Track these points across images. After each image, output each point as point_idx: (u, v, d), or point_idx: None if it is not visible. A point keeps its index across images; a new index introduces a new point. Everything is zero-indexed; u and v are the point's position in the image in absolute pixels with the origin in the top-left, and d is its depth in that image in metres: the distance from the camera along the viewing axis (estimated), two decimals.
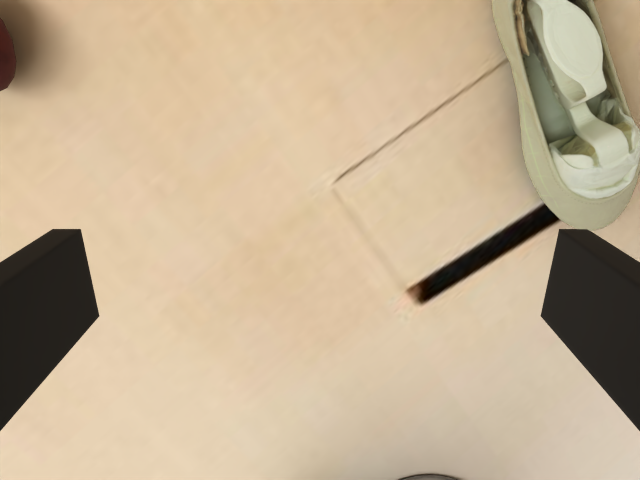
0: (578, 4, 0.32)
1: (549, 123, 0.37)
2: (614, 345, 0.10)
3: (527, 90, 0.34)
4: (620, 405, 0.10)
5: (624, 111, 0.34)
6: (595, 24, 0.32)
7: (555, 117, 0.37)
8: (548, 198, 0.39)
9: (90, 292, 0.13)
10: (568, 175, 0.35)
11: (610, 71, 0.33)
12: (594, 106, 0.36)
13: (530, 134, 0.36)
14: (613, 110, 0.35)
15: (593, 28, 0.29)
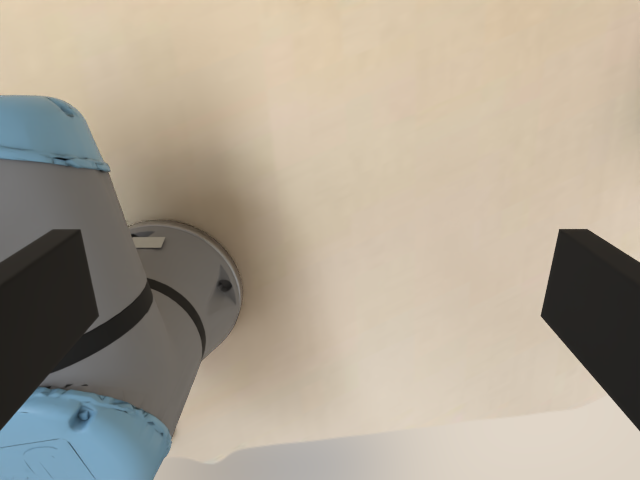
0: None
1: None
2: (614, 345, 0.10)
3: None
4: (620, 405, 0.10)
5: None
6: None
7: None
8: None
9: (90, 292, 0.13)
10: None
11: None
12: None
13: None
14: None
15: None
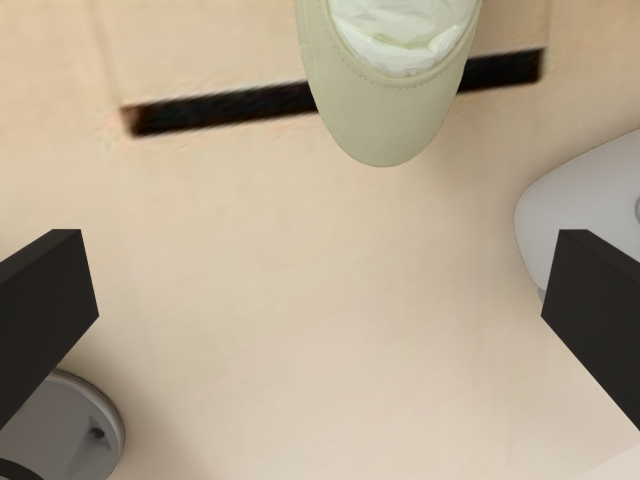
0: None
1: None
2: (614, 345, 0.10)
3: None
4: (620, 405, 0.10)
5: None
6: None
7: None
8: (308, 53, 0.21)
9: (90, 292, 0.13)
10: None
11: None
12: None
13: None
14: None
15: None
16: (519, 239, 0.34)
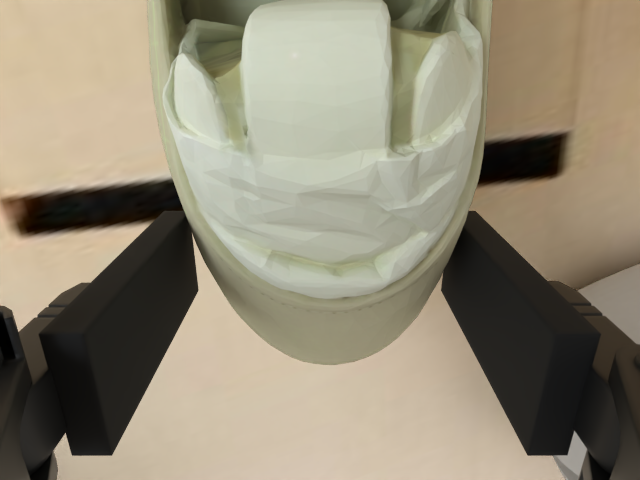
0: None
1: None
2: (476, 308, 0.11)
3: None
4: (479, 360, 0.11)
5: (474, 15, 0.09)
6: None
7: None
8: (192, 225, 0.13)
9: (193, 268, 0.14)
10: None
11: None
12: None
13: None
14: (448, 12, 0.09)
15: None
16: None
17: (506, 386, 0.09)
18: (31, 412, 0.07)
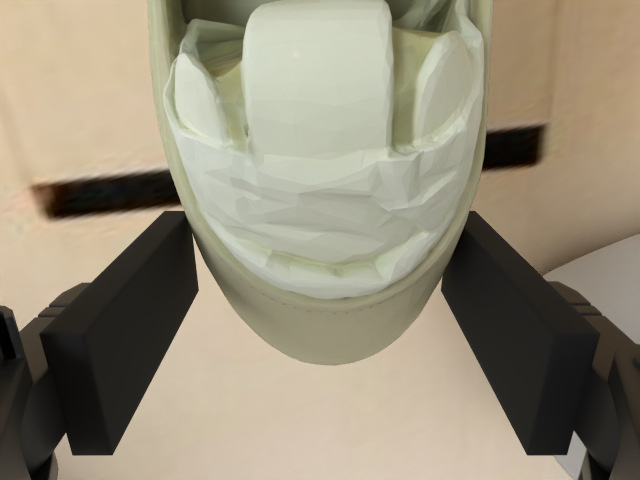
0: None
1: None
2: (475, 308, 0.11)
3: None
4: (478, 360, 0.11)
5: (475, 15, 0.09)
6: None
7: None
8: (192, 226, 0.12)
9: (194, 268, 0.14)
10: None
11: None
12: None
13: None
14: (449, 12, 0.09)
15: None
16: None
17: (506, 386, 0.09)
18: (31, 412, 0.07)
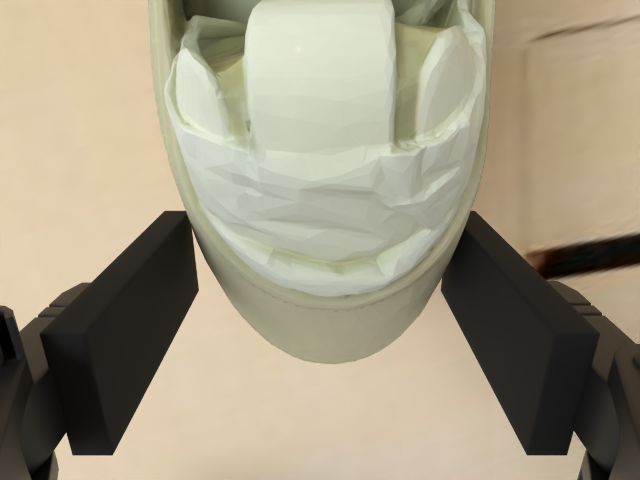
0: None
1: None
2: (475, 308, 0.11)
3: None
4: (478, 360, 0.11)
5: (477, 11, 0.09)
6: None
7: None
8: (193, 224, 0.12)
9: (194, 268, 0.14)
10: None
11: None
12: None
13: None
14: (451, 8, 0.09)
15: None
16: None
17: (506, 386, 0.09)
18: (32, 412, 0.07)
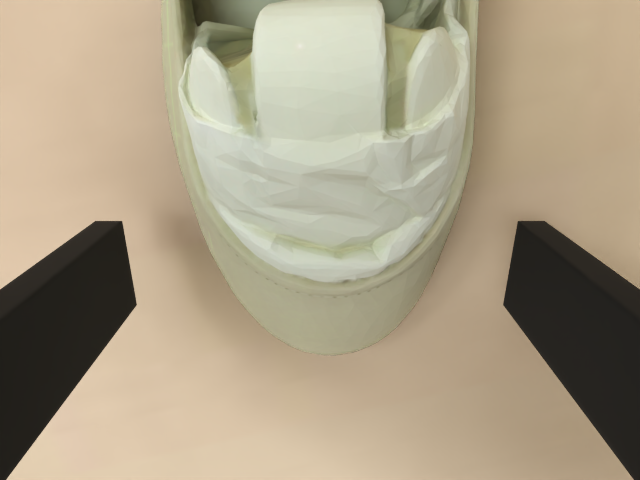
0: None
1: None
2: (560, 329, 0.10)
3: None
4: (565, 385, 0.10)
5: (462, 17, 0.09)
6: None
7: None
8: (199, 217, 0.13)
9: (129, 281, 0.13)
10: (192, 142, 0.09)
11: None
12: None
13: None
14: (439, 15, 0.10)
15: None
16: None
17: (612, 418, 0.09)
18: None
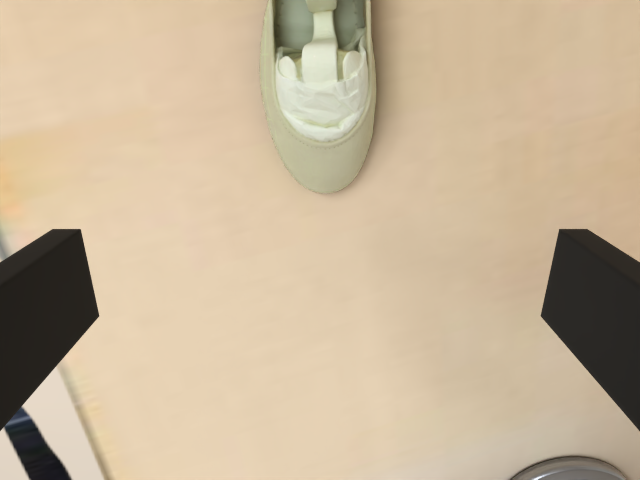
0: None
1: (296, 29, 0.30)
2: (614, 345, 0.10)
3: None
4: (620, 405, 0.10)
5: (366, 45, 0.29)
6: None
7: (304, 25, 0.30)
8: (271, 124, 0.33)
9: (90, 292, 0.13)
10: (278, 86, 0.29)
11: None
12: (350, 35, 0.30)
13: (267, 27, 0.30)
14: None
15: None
16: None
17: None
18: None
